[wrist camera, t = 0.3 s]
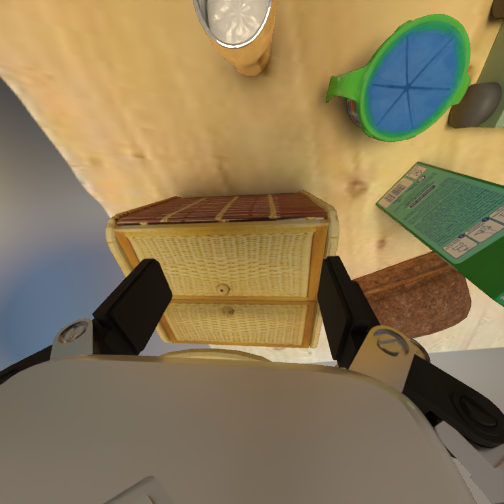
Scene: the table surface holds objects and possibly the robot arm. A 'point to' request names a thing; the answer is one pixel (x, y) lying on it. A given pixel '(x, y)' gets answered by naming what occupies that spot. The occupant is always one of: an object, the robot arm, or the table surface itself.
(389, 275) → the bread
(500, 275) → the milk carton
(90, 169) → the table surface
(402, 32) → the snack cup
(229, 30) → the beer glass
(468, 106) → the green toy vehicle
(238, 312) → the picnic basket
